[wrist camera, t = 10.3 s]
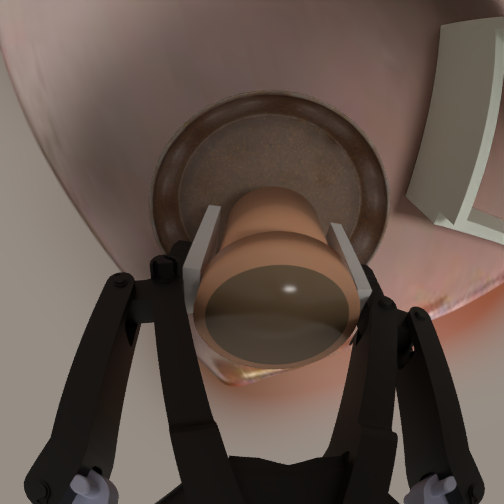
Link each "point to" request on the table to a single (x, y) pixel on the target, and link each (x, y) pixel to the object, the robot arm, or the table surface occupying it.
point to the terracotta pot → (275, 286)
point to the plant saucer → (271, 167)
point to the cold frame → (461, 128)
